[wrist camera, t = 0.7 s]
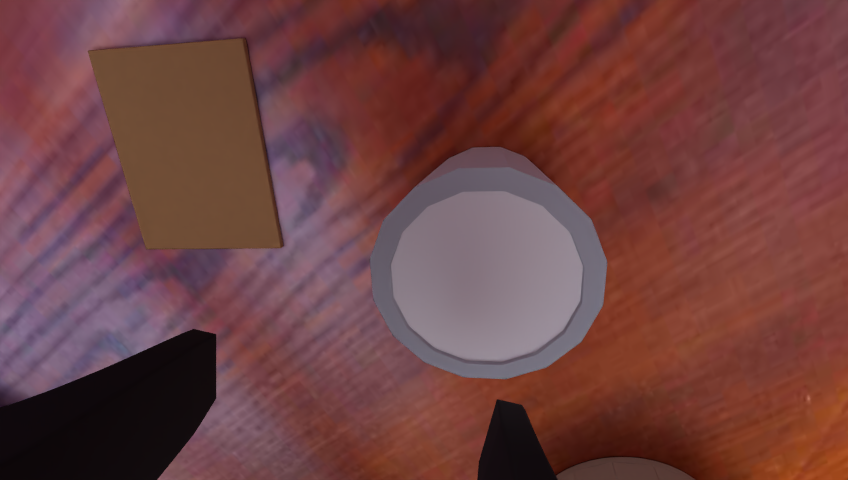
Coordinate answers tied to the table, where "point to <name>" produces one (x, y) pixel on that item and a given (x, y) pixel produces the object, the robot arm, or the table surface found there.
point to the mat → (190, 143)
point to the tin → (623, 470)
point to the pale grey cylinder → (488, 267)
